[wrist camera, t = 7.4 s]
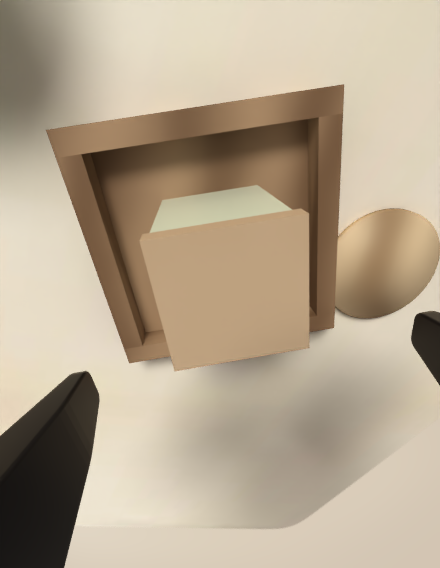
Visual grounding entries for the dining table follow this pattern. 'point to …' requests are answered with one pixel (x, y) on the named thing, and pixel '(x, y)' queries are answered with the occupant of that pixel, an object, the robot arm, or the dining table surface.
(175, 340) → the sage canister
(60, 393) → the robot arm
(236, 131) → the walnut tray
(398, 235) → the cork coaster
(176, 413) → the dining table surface
